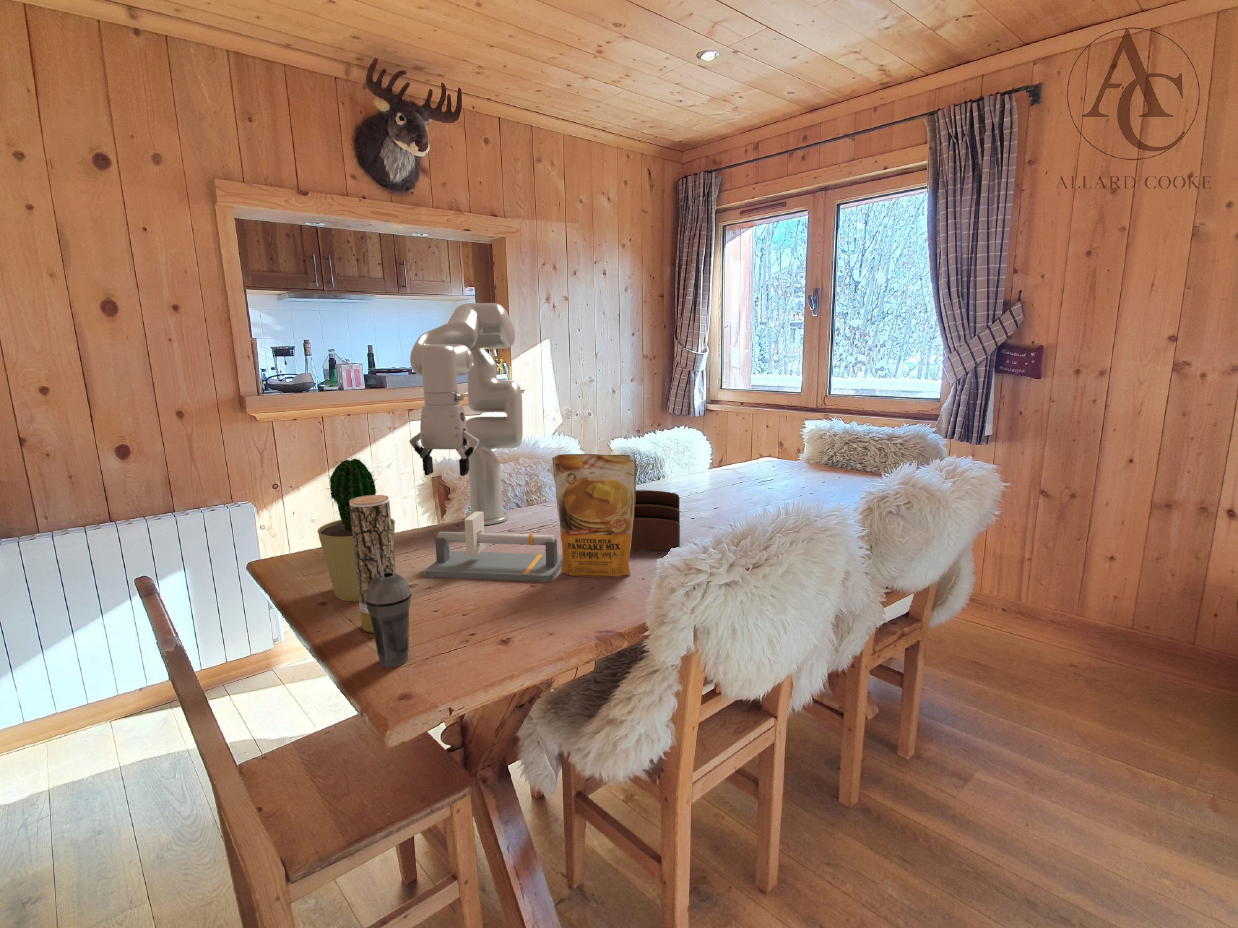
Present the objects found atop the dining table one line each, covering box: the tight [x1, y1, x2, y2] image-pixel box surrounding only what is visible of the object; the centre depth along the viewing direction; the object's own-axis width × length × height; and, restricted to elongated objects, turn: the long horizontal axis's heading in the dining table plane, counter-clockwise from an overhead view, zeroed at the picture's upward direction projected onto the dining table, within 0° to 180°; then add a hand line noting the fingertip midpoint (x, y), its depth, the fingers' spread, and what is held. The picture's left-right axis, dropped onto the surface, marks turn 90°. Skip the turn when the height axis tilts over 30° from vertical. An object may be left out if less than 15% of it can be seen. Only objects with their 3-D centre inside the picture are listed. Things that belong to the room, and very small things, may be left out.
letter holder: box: [630, 489, 681, 551], centre depth 161 cm, size 10×20×14 cm, turn 85°
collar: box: [464, 512, 486, 557], centre depth 145 cm, size 7×2×9 cm, turn 172°
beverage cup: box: [365, 550, 412, 668], centre depth 102 cm, size 7×7×20 cm
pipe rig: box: [424, 531, 562, 583], centre depth 145 cm, size 14×30×9 cm, turn 82°
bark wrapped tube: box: [349, 494, 397, 634], centre depth 114 cm, size 7×7×25 cm
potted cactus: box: [317, 456, 396, 602], centre depth 131 cm, size 15×15×30 cm
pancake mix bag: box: [551, 453, 638, 579], centre depth 140 cm, size 7×19×28 cm, turn 83°
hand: (446, 474), depth 143 cm, fingers open, 8 cm apart
